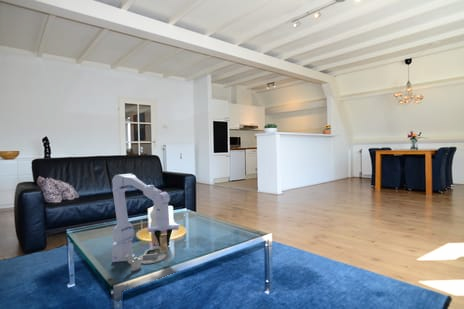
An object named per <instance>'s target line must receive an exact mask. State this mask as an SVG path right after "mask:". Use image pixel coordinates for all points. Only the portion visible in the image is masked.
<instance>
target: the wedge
mask: <svg viewBox="0 0 464 309" xmlns="http://www.w3.org/2000/svg"><path fill="white" fill-rule="evenodd" d="M168 250H169V247H168V246H167V234H161V235H160V252H162V253H163V252H167V251H168Z"/></svg>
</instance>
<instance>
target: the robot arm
mask: <svg viewBox="0 0 464 309" xmlns="http://www.w3.org/2000/svg"><path fill="white" fill-rule="evenodd" d="M111 181H112V182H111V184H112V194H113V202H114V208H115V217H116V225H115V226H114V227H113V233H112V237H113V240H114V242H113V243H112V246H111V256H112V261H111V262H112V263H118V262H128V261H127V260H126V258H125V256H126V255H127V254H128V255H129V256H130V257H131V259H132V260H133V258H135V257H136V254H133V239H134V237H135V236H136V233H135V231H136V230H135V229H134V226H133V224H132V223H131V222H130V221H129V216H128V208H127V202H126V201H127V200H126V194H125V193H126V191H127V190H128V189H129V188H130V187H131V186H132V187H134V188H136V189H138V190H140V191H142V194H143V195H144V196H145V197H147V198H149V199H150V200H151V201H152V202H153V205H154V204H155V208H156V215H157V226H156V227H151V226H149V227H148V228H147V233H151V232H154V235H155V236H156V238H157V240H158V243H159V247H160V235H161V231H167V232H166V234H167V246H170V239H171V236H172V233H173V231H178V230H179V228H180V226H179V224H170V214H169V213H170V212H169V202H170V201H171V196H170V194H169V193H168V192H167V191H162V190H161V189H159V188H157V187H155V185H154V184H148V185H147V184H146V183H145V182H144V181H143V180H140V179H139V178H137V176H136V175H135V174H133V173H131V172H130V173H124V174H123V173H122V174H115V175H114V176H113V178H112V180H111Z"/></svg>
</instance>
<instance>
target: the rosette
mask: <svg viewBox="0 0 464 309" xmlns="http://www.w3.org/2000/svg"><path fill="white" fill-rule="evenodd" d="M166 257H167V254H166V253H164V252H163V251H162V252H161V250H159V249H152V248H149V249H145V251H144V253H143V254H141V255H139V256H138V258H140V260H141V265H152V264H157V263H158V262H162V261H164V260H165V259H166Z"/></svg>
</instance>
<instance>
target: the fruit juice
mask: <svg viewBox="0 0 464 309" xmlns="http://www.w3.org/2000/svg"><path fill="white" fill-rule="evenodd" d="M150 219H151V221H150V227H156V226H157V215H156V208H155V204H154V203H153V207H152V209H151V212H150ZM166 232H167V231H161V234H166ZM150 236H151V238H150V239H151V249H159V250H160V247H159V243H158V240H157V238H156V236H155V235H154V232H150ZM160 251H161V250H160Z"/></svg>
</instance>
